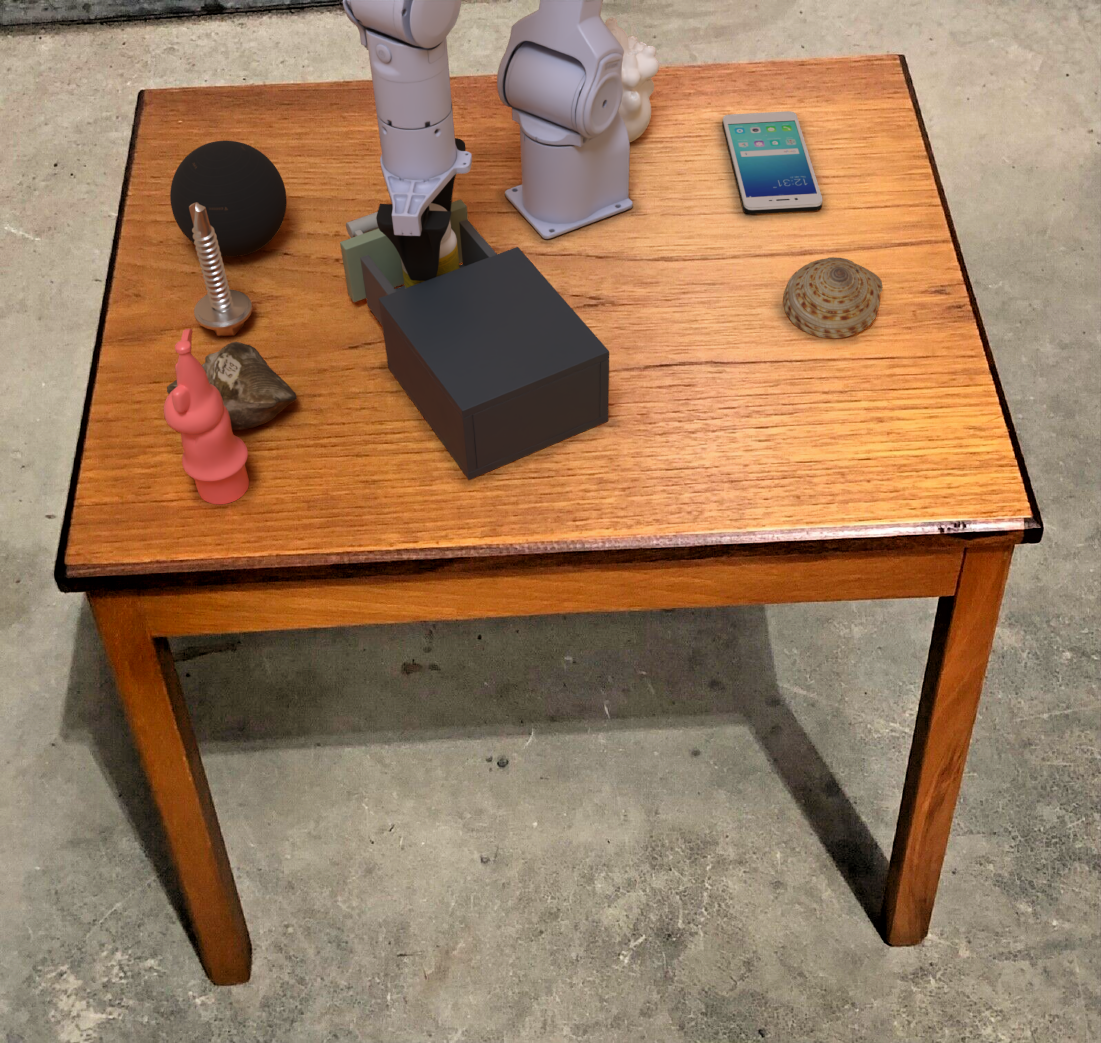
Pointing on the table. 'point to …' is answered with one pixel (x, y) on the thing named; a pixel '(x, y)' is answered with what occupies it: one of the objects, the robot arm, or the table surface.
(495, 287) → the cabinet
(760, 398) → the table surface
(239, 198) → the speaker
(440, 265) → the supplement bottle
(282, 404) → the fossilized seashell
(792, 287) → the seashell
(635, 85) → the figurine
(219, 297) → the screw
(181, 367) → the figurine
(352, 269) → the drawer
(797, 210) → the smartphone
